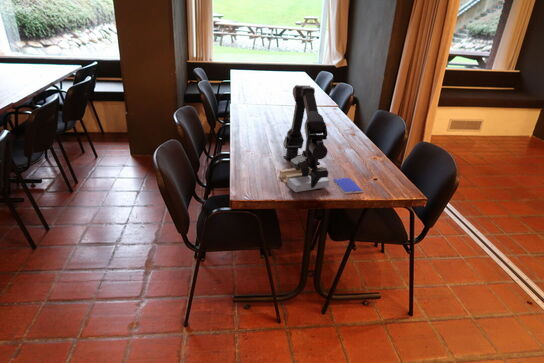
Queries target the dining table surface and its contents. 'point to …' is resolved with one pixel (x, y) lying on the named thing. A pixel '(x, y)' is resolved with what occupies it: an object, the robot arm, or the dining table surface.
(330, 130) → the dining table surface
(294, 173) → the birch box
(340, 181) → the hard drive
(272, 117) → the dining table surface
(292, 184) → the cover plate
